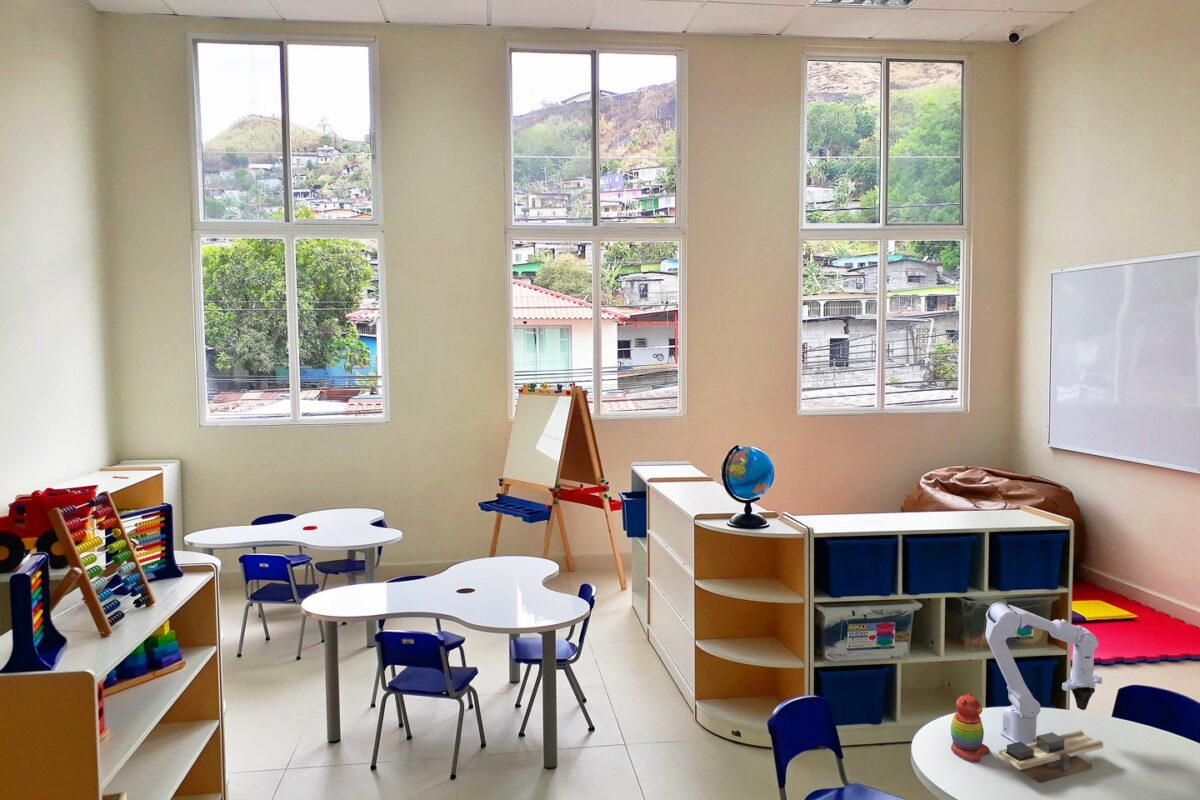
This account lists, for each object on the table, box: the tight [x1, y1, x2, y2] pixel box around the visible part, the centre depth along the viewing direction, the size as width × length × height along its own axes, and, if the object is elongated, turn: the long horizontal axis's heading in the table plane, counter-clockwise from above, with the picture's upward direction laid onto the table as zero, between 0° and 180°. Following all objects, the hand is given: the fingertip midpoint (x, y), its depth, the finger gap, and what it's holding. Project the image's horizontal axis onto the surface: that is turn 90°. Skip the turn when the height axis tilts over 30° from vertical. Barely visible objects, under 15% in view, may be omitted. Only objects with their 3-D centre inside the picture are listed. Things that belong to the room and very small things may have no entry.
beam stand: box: [1009, 739, 1093, 784], centre depth 253 cm, size 11×20×6 cm, turn 110°
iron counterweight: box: [1006, 742, 1034, 761], centre depth 249 cm, size 5×5×3 cm
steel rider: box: [1036, 731, 1065, 754], centre depth 253 cm, size 4×6×4 cm
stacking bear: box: [950, 693, 991, 763], centre depth 262 cm, size 11×10×18 cm
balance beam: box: [998, 730, 1104, 771], centre depth 253 cm, size 8×32×2 cm, turn 110°
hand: (1081, 708), depth 267 cm, fingers closed
